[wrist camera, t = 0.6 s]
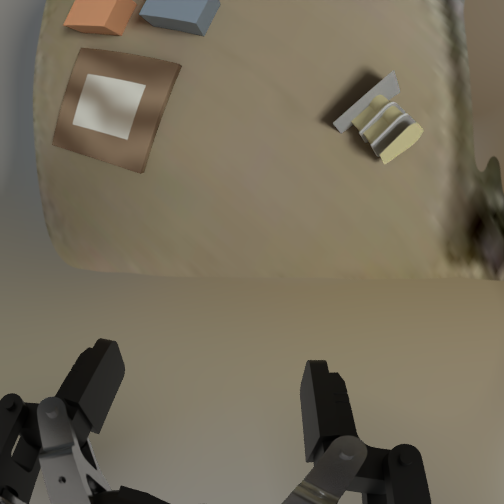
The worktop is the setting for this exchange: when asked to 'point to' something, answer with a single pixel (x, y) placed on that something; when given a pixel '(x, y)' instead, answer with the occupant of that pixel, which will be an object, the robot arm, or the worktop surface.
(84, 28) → the terracotta brick
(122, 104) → the plate
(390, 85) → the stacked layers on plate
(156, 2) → the slate brick
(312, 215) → the worktop surface
